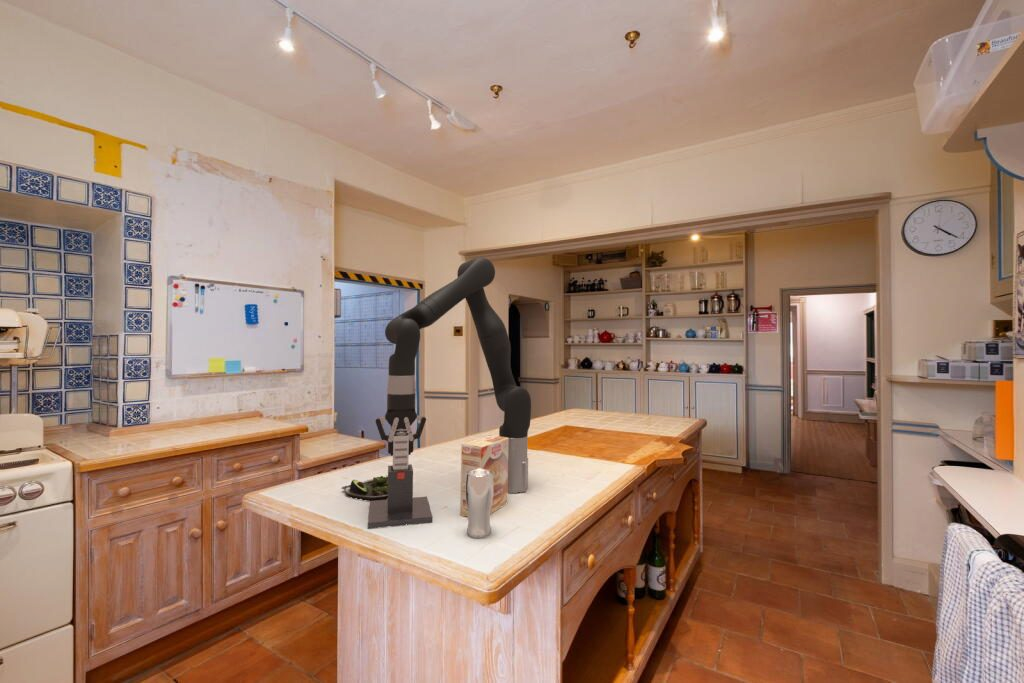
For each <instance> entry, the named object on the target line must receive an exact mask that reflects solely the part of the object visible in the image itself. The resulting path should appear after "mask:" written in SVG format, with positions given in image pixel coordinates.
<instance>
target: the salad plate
mask: <svg viewBox="0 0 1024 683" xmlns="http://www.w3.org/2000/svg"><path fill="white" fill-rule="evenodd" d="M340 489H342V490H344V492H345V494H346V496H347V497H348V496H349V497H348V498H350V497H352V498H351V499H354V498H357V499H356V500H359V499H362V500H361V501H364V500H369V501H368V502H370V501H377V500H385V499H386V500H388V474H386V475H385V476H382V475H380V476H376V477H373V478H372V479H367V480H364V481H359V480H357V479H352V480H351V483H350V484H349V485H345V486H341V488H340Z"/></svg>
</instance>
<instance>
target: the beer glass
mask: <svg viewBox="0 0 1024 683" xmlns="http://www.w3.org/2000/svg"><path fill="white" fill-rule="evenodd" d="M493 492H494V483H493V472H492V471H491V470H488V469H472V470H469V471H467V474H466V486H465V495H466V504H467V510H468V517H467V518H468V520H467V528H466V535H467V536H468V537H469V538H473V539H485V538H488V537H489V536H491V534H492V527H491V522H490V521H491V514H490V512H491V507H492V501H493Z"/></svg>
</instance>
